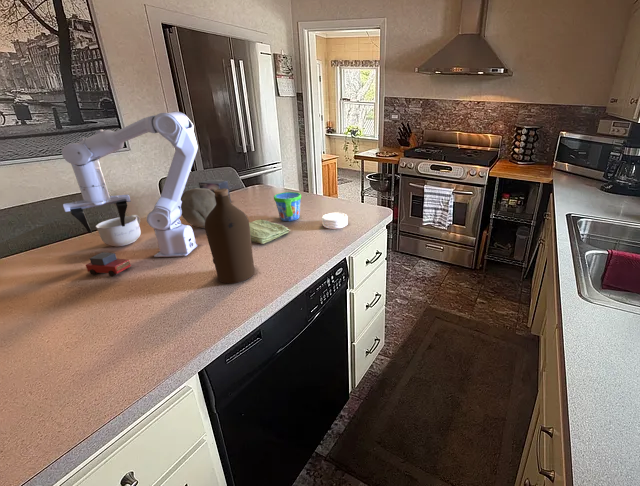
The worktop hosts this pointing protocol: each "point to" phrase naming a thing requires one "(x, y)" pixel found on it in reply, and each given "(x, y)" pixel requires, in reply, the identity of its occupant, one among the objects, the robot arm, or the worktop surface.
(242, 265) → the olive oil
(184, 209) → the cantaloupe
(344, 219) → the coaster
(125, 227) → the teacup
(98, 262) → the toy car
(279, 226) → the washcloth
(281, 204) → the snack cup
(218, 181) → the small box
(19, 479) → the worktop surface
